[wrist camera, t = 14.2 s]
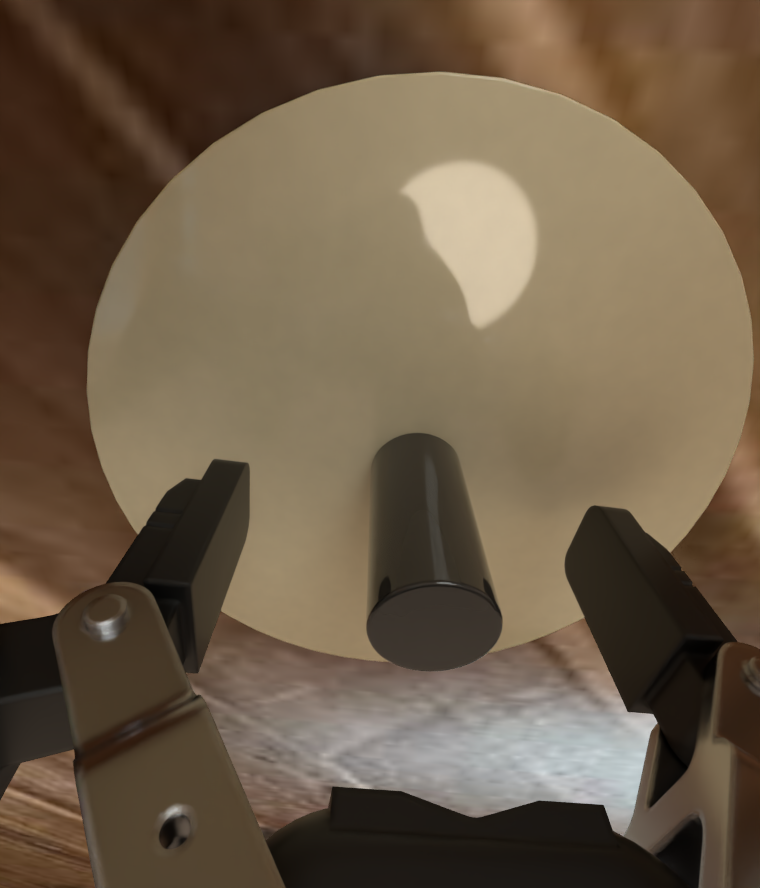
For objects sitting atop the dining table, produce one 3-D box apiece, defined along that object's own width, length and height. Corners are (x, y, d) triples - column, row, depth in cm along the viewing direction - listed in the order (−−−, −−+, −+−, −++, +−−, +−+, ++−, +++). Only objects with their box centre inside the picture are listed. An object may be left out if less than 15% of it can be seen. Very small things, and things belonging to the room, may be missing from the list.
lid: (147, 611, 17) (41, 813, 12) (45, 3, 8) (-524, -280, 3) (582, 652, 18) (666, 852, 13) (876, 160, 10) (1477, 149, 4)
